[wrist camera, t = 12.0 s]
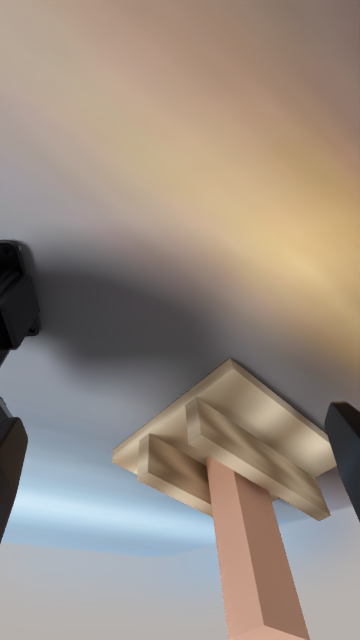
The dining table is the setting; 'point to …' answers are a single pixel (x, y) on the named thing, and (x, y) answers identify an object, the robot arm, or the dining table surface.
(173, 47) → the dining table surface
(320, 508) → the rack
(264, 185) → the dining table surface
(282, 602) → the pink rectangular block
